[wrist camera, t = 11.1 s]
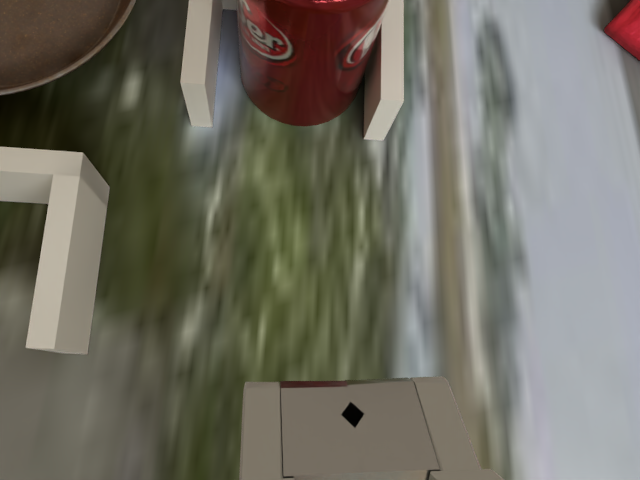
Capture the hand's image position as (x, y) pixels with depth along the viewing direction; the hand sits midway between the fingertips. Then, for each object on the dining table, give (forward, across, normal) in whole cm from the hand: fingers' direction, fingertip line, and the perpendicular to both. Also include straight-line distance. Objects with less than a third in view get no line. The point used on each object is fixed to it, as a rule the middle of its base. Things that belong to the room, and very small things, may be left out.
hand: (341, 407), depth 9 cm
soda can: (+29, -1, +3) cm, 29 cm away
